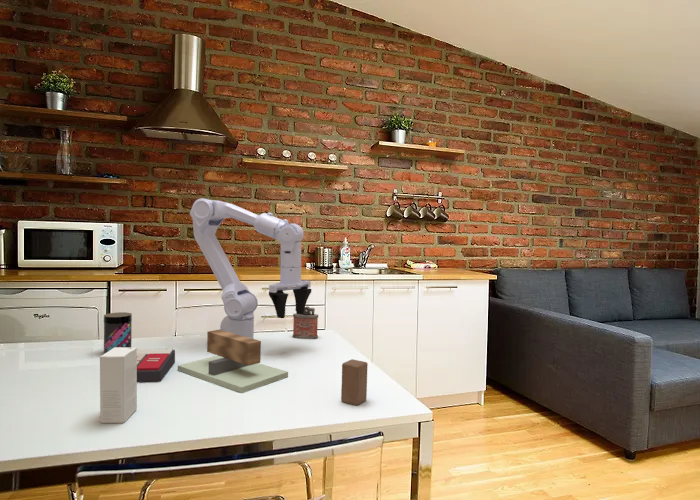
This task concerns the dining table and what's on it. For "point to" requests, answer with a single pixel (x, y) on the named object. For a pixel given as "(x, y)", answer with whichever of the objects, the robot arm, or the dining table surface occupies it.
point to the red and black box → (154, 364)
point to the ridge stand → (232, 373)
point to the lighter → (305, 324)
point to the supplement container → (117, 330)
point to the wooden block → (354, 382)
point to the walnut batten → (234, 347)
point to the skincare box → (118, 384)
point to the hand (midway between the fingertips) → (290, 315)
